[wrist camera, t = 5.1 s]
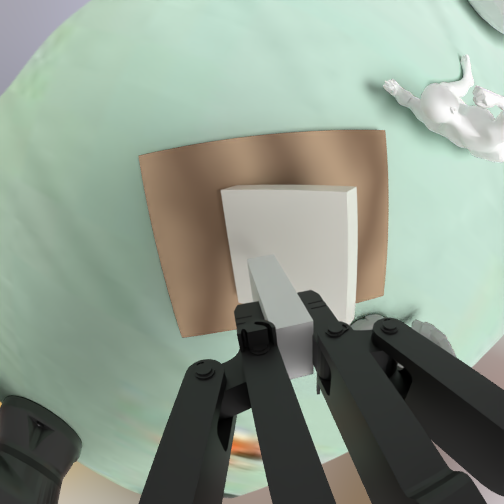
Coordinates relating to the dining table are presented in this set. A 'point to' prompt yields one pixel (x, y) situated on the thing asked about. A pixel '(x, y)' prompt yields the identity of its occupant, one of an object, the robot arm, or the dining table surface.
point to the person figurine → (458, 113)
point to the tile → (297, 238)
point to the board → (255, 173)
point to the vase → (490, 12)
